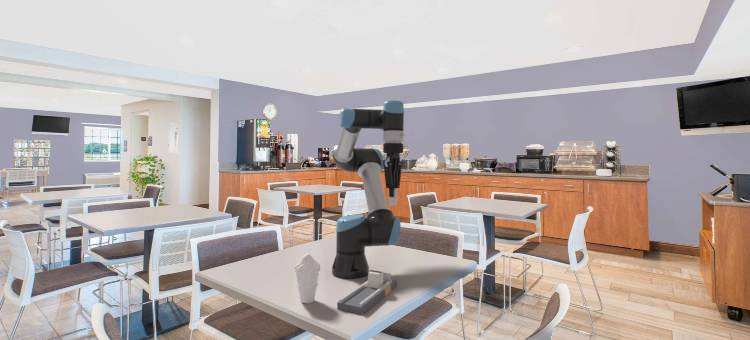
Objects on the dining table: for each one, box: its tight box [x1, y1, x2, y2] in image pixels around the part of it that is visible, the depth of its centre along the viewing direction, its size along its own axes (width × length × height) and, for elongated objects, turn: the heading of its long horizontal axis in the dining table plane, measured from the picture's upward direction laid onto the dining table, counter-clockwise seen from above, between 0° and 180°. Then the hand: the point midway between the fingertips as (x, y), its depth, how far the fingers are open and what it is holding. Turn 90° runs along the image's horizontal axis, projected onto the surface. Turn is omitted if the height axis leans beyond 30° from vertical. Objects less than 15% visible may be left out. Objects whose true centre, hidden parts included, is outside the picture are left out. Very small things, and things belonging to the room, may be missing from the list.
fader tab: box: [367, 269, 384, 289], centre depth 127 cm, size 4×4×5 cm
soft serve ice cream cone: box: [294, 252, 321, 304], centre depth 118 cm, size 8×8×16 cm
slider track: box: [336, 271, 398, 315], centre depth 123 cm, size 9×27×5 cm, turn 154°
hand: (392, 205), depth 136 cm, fingers closed
